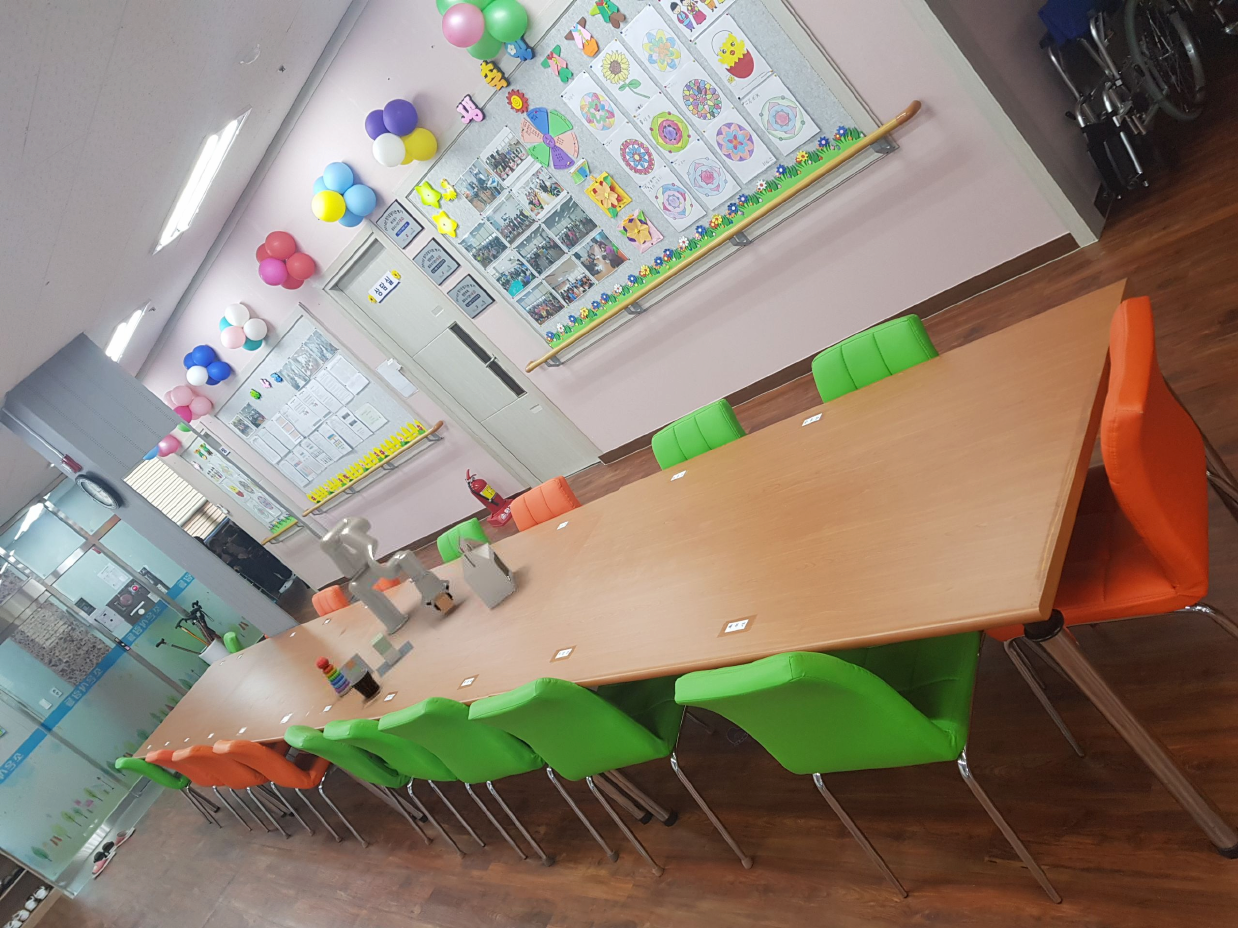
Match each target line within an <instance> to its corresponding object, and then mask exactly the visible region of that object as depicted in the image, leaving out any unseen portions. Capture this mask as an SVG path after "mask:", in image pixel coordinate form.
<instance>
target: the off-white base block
mask: <svg viewBox="0 0 1238 928" xmlns="http://www.w3.org/2000/svg"><path fill="white" fill-rule="evenodd" d="M401 656H402V655H401V654H400V653H399V651H398V649H397V648H396V647H395V646H394V645H393V646H392V647H391V648H390V649H389V650H388V651H386V652H385V653H384V654H383V655H382V656H381V658H383V659H384V660H385V661H387V662H388V664H389V665H390V666H391V665H392V664H393V663H395V662H396V661H397V660H398V659H399V658H400V657H401Z"/></svg>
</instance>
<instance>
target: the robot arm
mask: <svg viewBox="0 0 1238 928" xmlns="http://www.w3.org/2000/svg"><path fill="white" fill-rule="evenodd" d="M371 528H372V526H371V522H370V521H369V520H368V519H366V518H365V517H363V516H358V515H357V516H349V517H344V518H341V520H340V521H339V522H337V524H335V525H334V526H332V528H331V529H329V530H328V531H327V532H326V533H325V534H324V535H323V536H322V537H321V538H320V540H319V541H318V546H319V548H320V550H321V551H322V552H323V554H326V555H327V556H328V557H329V558H330V559H331V560H332V562H333V563H334V565H335V566H336V568H338V570H339V572H340V573H341V574H342V575H343V576H344V577H345V578H347V579H351V580H350V582H349V583H348V591H349V592H350V593H351V594H352V595H353V596H355V598H357V599H359V600H360V601H361V602H362V603H363V604H364V605H365V606H366V607H367V608H368V610H369V611H370V612H372V614H373V615H374V616H375V617H376V618H377V619H378V620H379V621H380V623H382V624H383V626H384V627H385V628H386V629H387V630H386V634H387V635H392V634H394V633H395V632H397V631H398V630H400V628H402V627H403V626H404V625H405V624H406V622H407V621H408V619H409V618H410V616H409V614H407V613H406V614H403V613H402V612H401V611H400V610H399V609H398V607H397V606H395V604H394V603H393V602H392V601H391V599H389V597H388V596H387V595H386V594H385V593H384V592H383V591H381V590H379V589H374V587H375V585H376V584H377V583H378V582H380V580H381V579H382V578H384V579H386V580H387V581H394V580H396V579H397V578H398V576H400V575H401V573H402V572H403V571H404V572H405V573H406V574H407V575H408V576H409V578H410V579H409V583H410V584H413V583H414V584H413V585H414V586H415V588H416V589H417V591H418V592H419V594H420V595H421V600H420V601H421V602H420V605H421V606H433V607H434V609H435V610H436V611H439V612H442V610H441V609H440V608H439V607H438V606H437V605H436V603H435V602H434V601H433V599H434V598H435V597H436V596H437V595H438V594H439V593H440V592H442V591H444V592H445V593H446V594H447V595H448V597H449V598H450V599H451V600H452V601H453V602H454V598H453V595H452V594H451V593H450V580H449V579H440V577H439V576H437V575H436V573H434V572H433V571H432V570H428V568H427V567H426V566H425V565H424V564H423V563H422V562H421V560H420V559H419V558H418V557H417V556H416V554H414V552H413V551H412V550H410V549H406V550H399V551H397V552H396V553H394V555H392V556H391V558H390V559H388V560H387V561H386V563H385V564H384V565H383V564H381V563H379V562H378V561H377V560H376V559H375V556H376V554H377V551H378V547H379V541H378V539H377V538H375V537H373V536H371V535H369V534H368V532H369V531H370V530H371ZM348 547H350V548H351V550H349V548H348ZM425 600H426V601H425Z"/></svg>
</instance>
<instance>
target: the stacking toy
mask: <svg viewBox="0 0 1238 928" xmlns="http://www.w3.org/2000/svg"><path fill="white" fill-rule="evenodd" d="M316 667H317V668H318V669H319V670H322V674H324V676H325V678H326V679H327V681H328V682H329V684H330V685H331V686H332V688H333V689H334V691H335V692H336V693H337V696H339V697H342V696H345V695H346V694H347V693H349V691H351V690H352V688H353V687H352V686H351V685H350V682H349V681H348V680H347V679H346V678H345V677H344V675H343V674H342V673H341V672H340V671H339V670H338V668H337V667H336V666H334V665H333V663H330V661H329V659H328V658H327V657H320V658H319V659H317V661H316Z"/></svg>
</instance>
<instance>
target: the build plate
mask: <svg viewBox="0 0 1238 928" xmlns="http://www.w3.org/2000/svg"><path fill="white" fill-rule="evenodd" d="M414 648H415V646H413V644H412V643H411V642H410V640H407V641H406V642H405V643H403V645H401V646H400V647H399V649H397V650H398V651H399V653H400V654H401V655H402V656H401V657H400V658H399V659H398V660H397V661H396V662H395V663H393V664H392V665H391V666H390V665H389V664H388V662H387V661H386V660H385V661H384V662H383V663H382V664H381V665H379V666H378V667H377V668H376V669H375V671H376V672H377V674H378V677H379V678H380V679H381V678H383V676H384V675H385V674H387V673H388V672H389V671H390V670H391V669H392V668H394V666H396V665H397V664H398V663H399V662H400V661H401V660H402V659H403V658H404V657H406V656H407V654H409V653H410V652H411V651H412V650H413V649H414Z"/></svg>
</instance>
